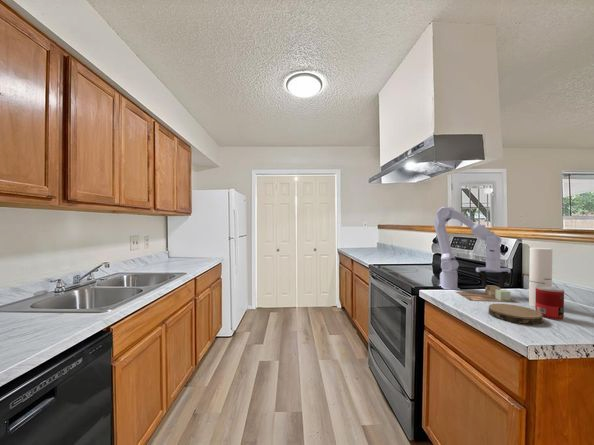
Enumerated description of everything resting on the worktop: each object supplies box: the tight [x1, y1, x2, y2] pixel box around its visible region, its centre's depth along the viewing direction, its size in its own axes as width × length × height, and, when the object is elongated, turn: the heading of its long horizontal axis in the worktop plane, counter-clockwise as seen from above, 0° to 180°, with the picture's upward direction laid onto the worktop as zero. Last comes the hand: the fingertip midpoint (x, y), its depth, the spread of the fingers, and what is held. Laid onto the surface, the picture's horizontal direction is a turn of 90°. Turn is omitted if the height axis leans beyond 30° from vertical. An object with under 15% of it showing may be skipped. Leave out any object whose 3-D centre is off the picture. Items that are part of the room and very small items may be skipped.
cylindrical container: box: [528, 247, 553, 308], centre depth 115 cm, size 7×7×25 cm
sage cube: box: [495, 289, 511, 301], centre depth 125 cm, size 4×4×4 cm
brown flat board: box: [455, 291, 519, 304], centre depth 128 cm, size 15×20×1 cm
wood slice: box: [488, 303, 543, 326], centre depth 103 cm, size 16×16×3 cm
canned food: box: [534, 285, 565, 321], centre depth 104 cm, size 8×8×11 cm
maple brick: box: [484, 284, 501, 296], centre depth 133 cm, size 4×4×4 cm
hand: (492, 286), depth 132 cm, fingers open, 7 cm apart
